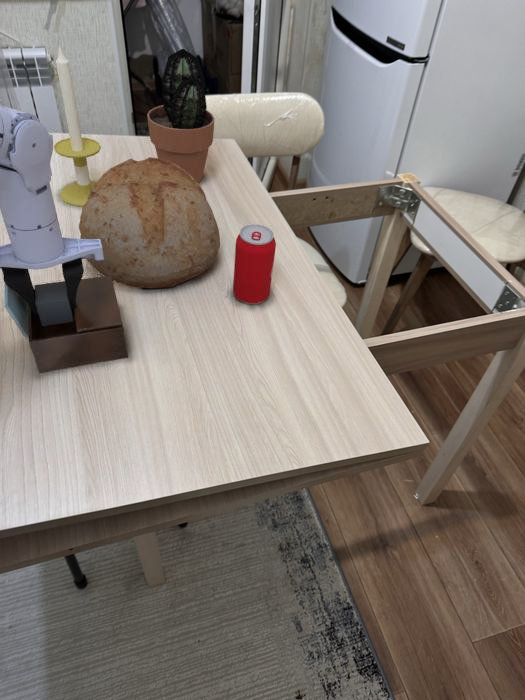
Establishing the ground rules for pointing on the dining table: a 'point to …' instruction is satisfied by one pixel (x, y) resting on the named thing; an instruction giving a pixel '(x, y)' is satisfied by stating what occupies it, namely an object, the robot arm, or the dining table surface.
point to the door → (17, 309)
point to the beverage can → (253, 264)
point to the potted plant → (183, 116)
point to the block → (53, 303)
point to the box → (81, 330)
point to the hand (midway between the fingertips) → (55, 306)
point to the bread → (150, 224)
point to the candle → (74, 140)
